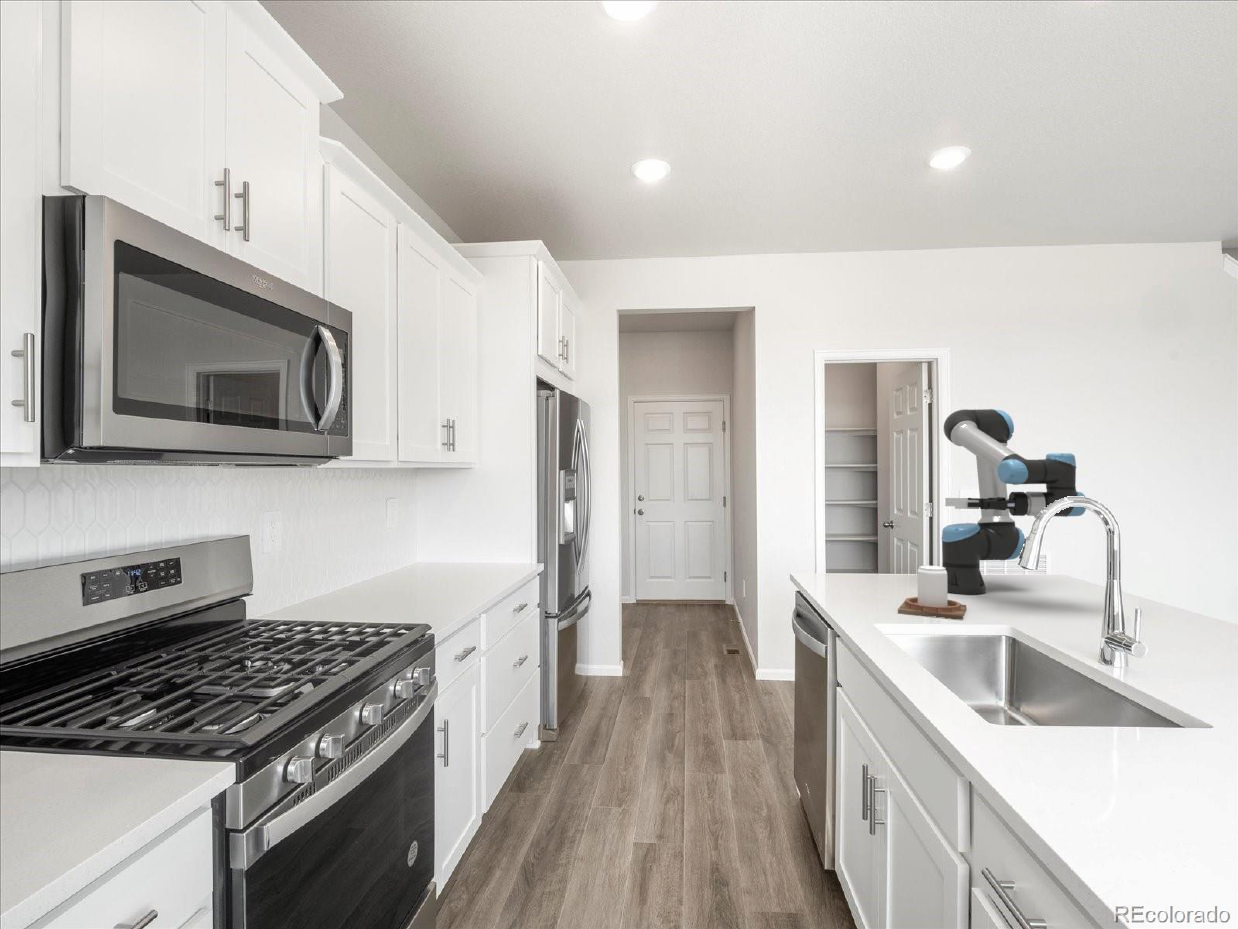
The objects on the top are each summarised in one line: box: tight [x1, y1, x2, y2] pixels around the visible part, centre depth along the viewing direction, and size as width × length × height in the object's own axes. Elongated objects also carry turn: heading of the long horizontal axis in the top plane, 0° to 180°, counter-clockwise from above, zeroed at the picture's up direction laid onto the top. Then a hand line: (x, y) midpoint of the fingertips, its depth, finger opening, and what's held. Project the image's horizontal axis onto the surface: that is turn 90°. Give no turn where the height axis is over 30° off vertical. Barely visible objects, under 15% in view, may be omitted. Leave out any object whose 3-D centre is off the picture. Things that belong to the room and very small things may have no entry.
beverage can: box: [917, 565, 949, 607], centre depth 194 cm, size 8×8×12 cm
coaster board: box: [897, 596, 967, 620], centre depth 194 cm, size 17×17×3 cm
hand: (950, 503), depth 205 cm, fingers open, 13 cm apart
